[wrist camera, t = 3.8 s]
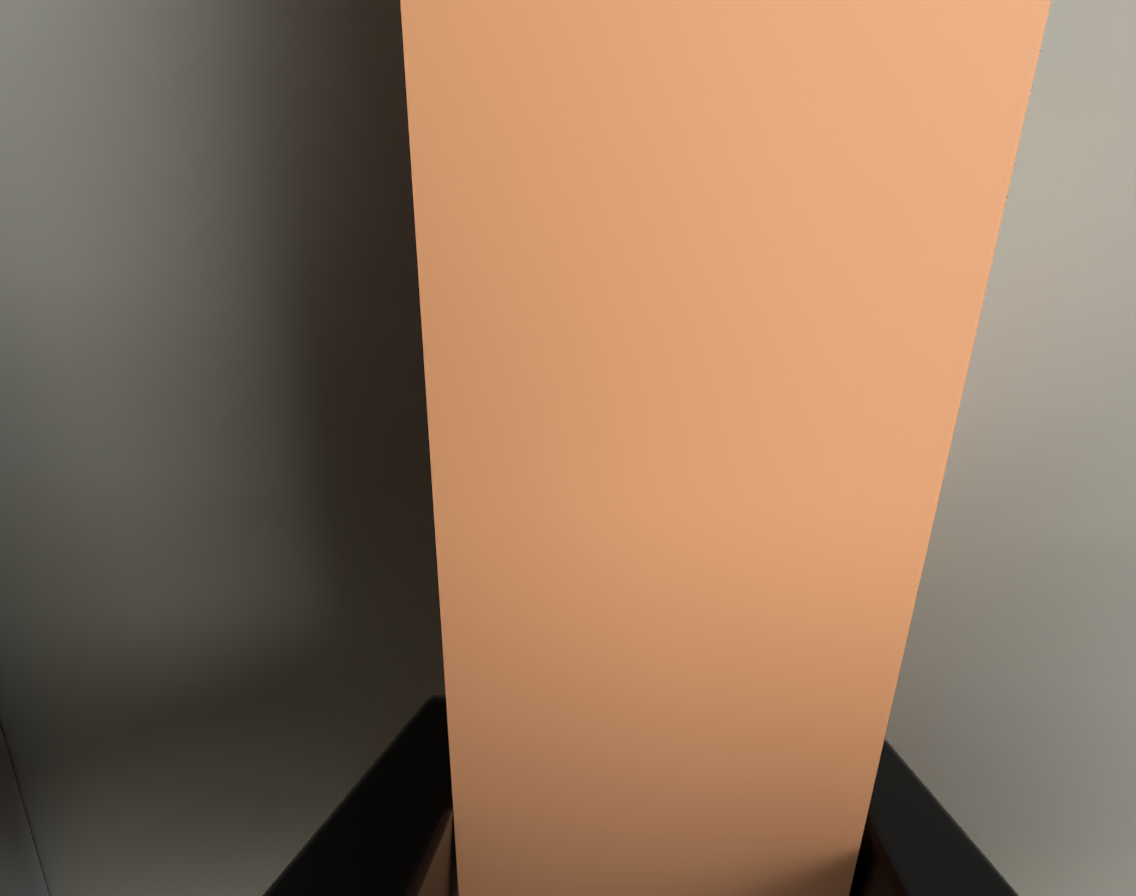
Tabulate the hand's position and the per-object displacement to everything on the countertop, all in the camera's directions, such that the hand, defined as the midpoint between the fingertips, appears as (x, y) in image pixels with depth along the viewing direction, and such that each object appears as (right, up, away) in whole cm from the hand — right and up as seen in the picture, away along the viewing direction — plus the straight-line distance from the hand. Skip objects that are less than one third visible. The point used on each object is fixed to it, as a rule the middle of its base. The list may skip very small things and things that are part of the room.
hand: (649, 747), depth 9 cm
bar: (0, +1, +1) cm, 2 cm away
